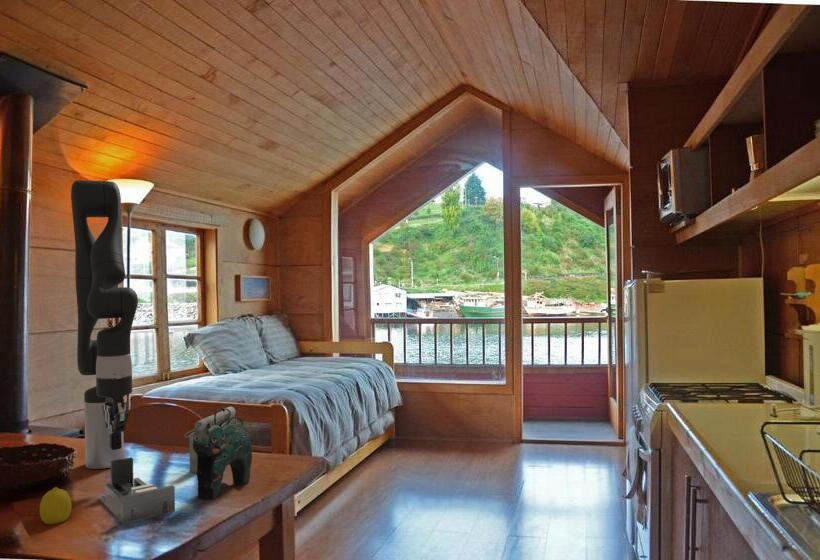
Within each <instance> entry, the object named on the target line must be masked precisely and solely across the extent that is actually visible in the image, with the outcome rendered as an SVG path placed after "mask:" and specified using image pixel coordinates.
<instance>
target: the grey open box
mask: <svg viewBox="0 0 820 560" xmlns="http://www.w3.org/2000/svg"><path fill="white" fill-rule="evenodd" d="M142 485H147V483H146V482H144V481H143V480H142V479H141V478H139V477H135V478H134V477H133V487H138V486H142ZM175 487H176V486H174V485H173V484H171V485H167V486H163V487H157V489H152V490H148V491H143V492H138V493H134V494H129V495H124V496H123V495H122V494H121V493H120V492H119V491H118V490H117V489H115V488H114V487H113V486H112V485H111V482H110V483H109V482H108V483H105V484H104V495H103V496H97V498H98V499H99V501H101V503H102V504H103V505H104V506H105V507H106V508H107V509H108V510H109V511H110V512H111V513H112V514H113V515H114V516H115V518H116V519H118V521H120V522H121V524H122V525H124V524H127V523H128V524H129V523H132V522H136V521H140V520H143V519H149V518H154V517H156V516H161V515H165V514H169V513H173V512H174V513H175V512H176V503H175V502H176V497H175V496H176V494H175V493H176V492H175V490H176V488H175Z"/></svg>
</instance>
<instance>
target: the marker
mask: <svg viewBox="0 0 820 560" xmlns="http://www.w3.org/2000/svg"><path fill="white" fill-rule="evenodd" d="M146 484H147V483H146ZM157 488H158V487H156V485H155V484H152V483H148V484H147V485H142V486H138V487H134V486H133V488H131V494H134V493H138V492H143V491H148V490H152V489H157Z"/></svg>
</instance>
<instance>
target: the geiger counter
mask: <svg viewBox="0 0 820 560" xmlns="http://www.w3.org/2000/svg"><path fill="white" fill-rule="evenodd" d="M224 409H225V412H223V410H222V409H221V411H219V412H217V414H216V425H217V424H219V423H221V422H224V423H226V422H227V421H228V420H229V419H230V418H232V417H236V412H237V411H236V409H235V407H234V406H228V407H224ZM208 423H210V425H215V423H214V414H212V415H210V416H206V417H205V418H203V419H200V420H198V421H196V422H195V423H194V428H193V429H191V430H188V431H187V432H185V433H184V434H183V438H185V439H188V438H189V440H188V441H189V443H188V444H189V446H188V447H189V473H197V454H196V452H195V451H194V449H193V437H194V433H195V431H196V430H197V429H198V428H199V427H200V426H202V425H207V424H208ZM224 423H223V424H224ZM229 423H238V419H232V420H231V421H230V422H229Z"/></svg>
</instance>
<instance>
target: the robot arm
mask: <svg viewBox="0 0 820 560" xmlns="http://www.w3.org/2000/svg"><path fill="white" fill-rule="evenodd" d="M70 200H71V201H70V203H71V212H72V213H71V214H72V224H73V233H74V245H75V246H74V247H75V248H74V250H75V254H74V255H75V263H74V264H75V266H74V267H75V273H74V274H75V276H74V277H75V292H76V306H77V344H76V345H77V348H76V349H77V352H76V355H77V356H76V358H77V359H76V360H77V361H76V362H77V369H78V371H79V373H80V375H82V376H95V385H94V386H93V387H90V388H88V389H86V390H85V392H84V394H83V401H84V440H85V441H84V443H85V444H84V447H85V449H84V451H85V452H84V453H85V455H84V457H85V468H87V469H89V470H90V469H92V470H100V469H107V468H110V469H111V463H110V461H114V460H119V459H125V452H124V448H125V447H124V432H125V431H126V426H127V424H128V423H127V422H128V419H129V412H128V411H126V410H127V403H126V402H125V399H124V397H126V396H128V395H130V394H132V393H133V363H132V362H133V361H132V355H131V333H132V327H133V322H134V319H135V316H136V312H137V309H138V304H139V298H138V294H137V292H136V291H135V290H134V289H133V288H131V287H127V286H125V287H122V286H121V287H117V286H118V285H120V284H122V283H123V282H124V281H125V279H126V272H125V271H126V270H125V263H124V257H123V249H122V232H123V231H122V229H123V228H122V224H123V223H122V219H123V218H122V196H121V191H120V188H119V185H118V184H117V183H116V182H114V181H110V180H86V179H85V180H84V179H83V180H82V179H81V180H80V179H78V180H75V181H74V182H73V183H72V185H71V189H70ZM88 218H107V223H106V225H105V226H104V228H103V230H102V231H101V233H100V234H99V235H98V237H97V238H95V237H94V235H93V233H92V231H91V229H90V227H89V224H88ZM102 319H103V320H104V319H120V320H119V322H118V323H117V324H116V325H115V326H114V325H113V326H111V327H109V328H108V327H107V328H104V329H101V330H99V331H98V332H97V334H96V339H95V340H94V339H91V337H92V333H93V331H94V328H95V326H96V324H97V323H98V321H99V320H102Z"/></svg>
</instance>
